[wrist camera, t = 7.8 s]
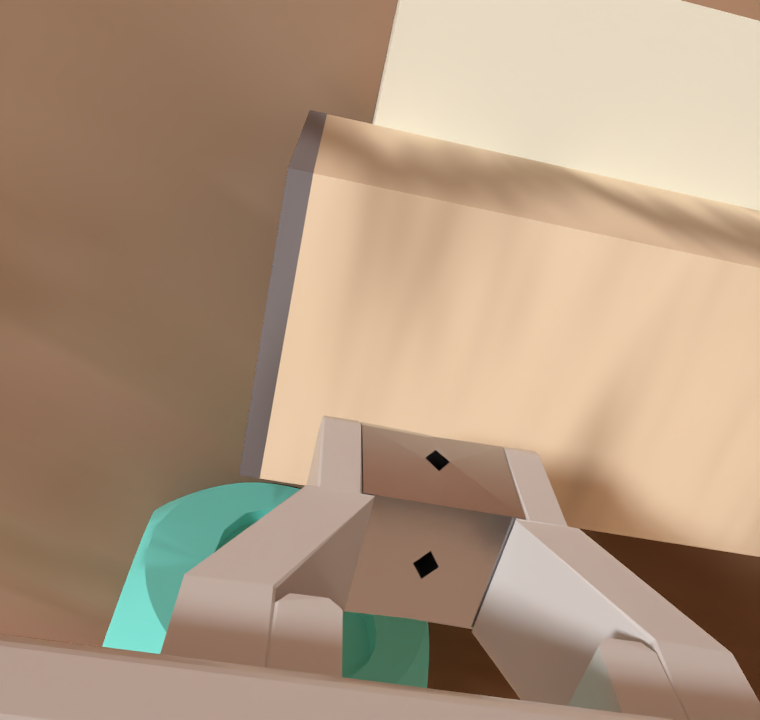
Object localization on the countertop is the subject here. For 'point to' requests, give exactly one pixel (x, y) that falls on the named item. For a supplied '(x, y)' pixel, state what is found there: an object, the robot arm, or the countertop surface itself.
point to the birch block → (518, 327)
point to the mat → (586, 87)
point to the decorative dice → (208, 534)
